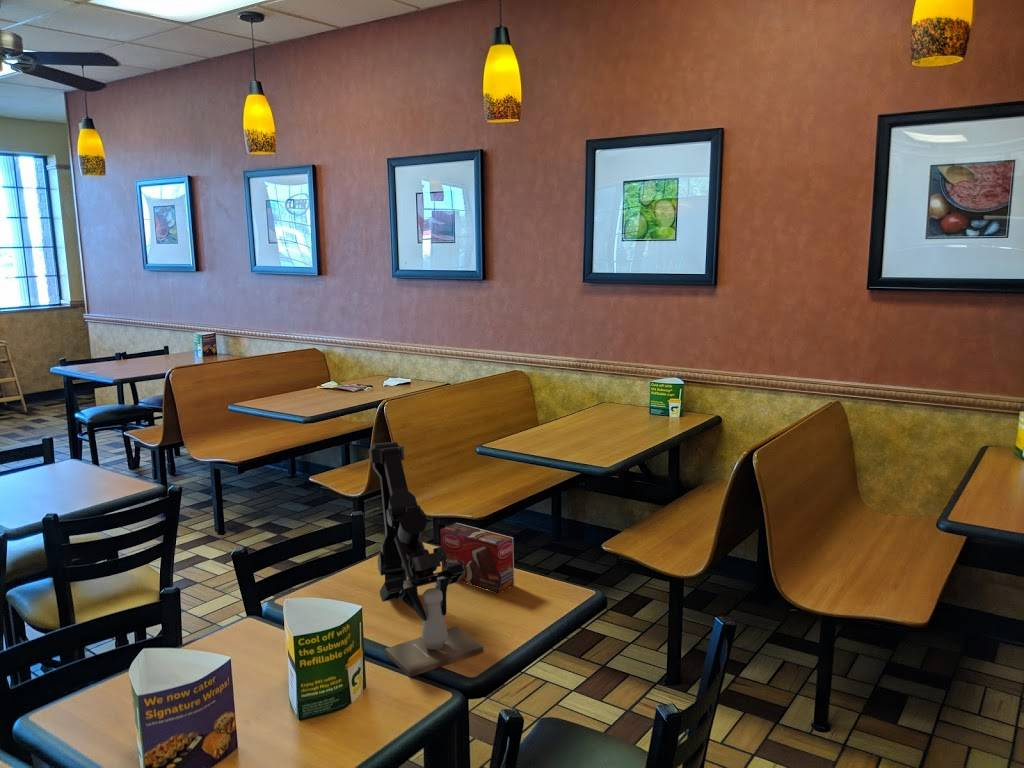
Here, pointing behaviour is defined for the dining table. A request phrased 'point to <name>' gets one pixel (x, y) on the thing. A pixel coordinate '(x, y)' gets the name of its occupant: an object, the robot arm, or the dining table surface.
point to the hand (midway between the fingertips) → (435, 617)
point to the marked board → (433, 652)
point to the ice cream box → (480, 556)
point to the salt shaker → (434, 620)
